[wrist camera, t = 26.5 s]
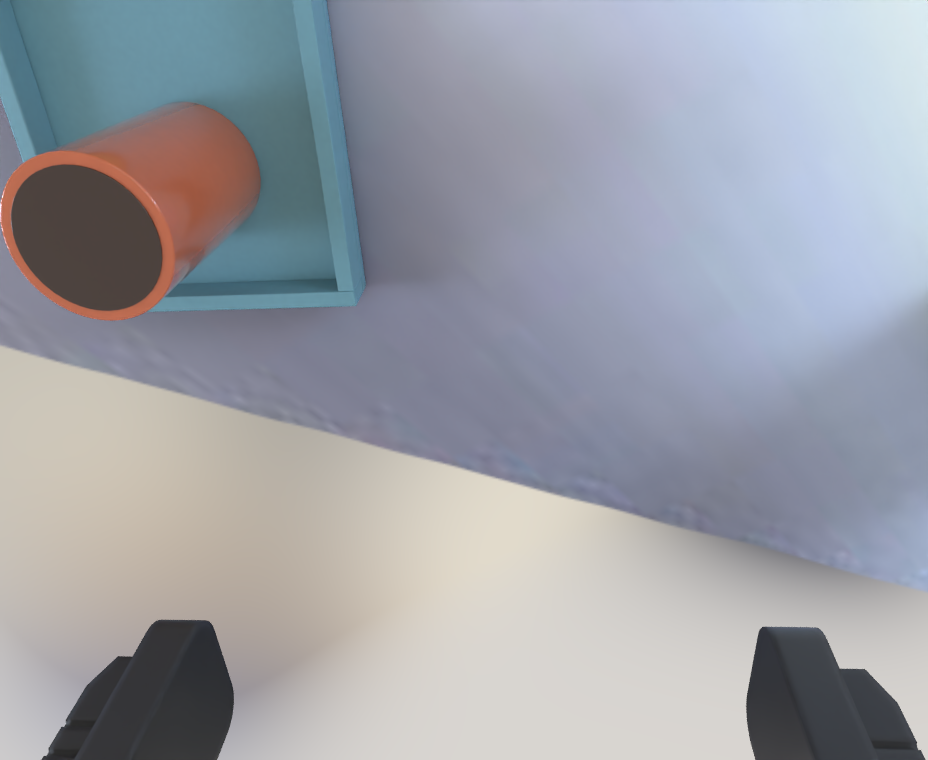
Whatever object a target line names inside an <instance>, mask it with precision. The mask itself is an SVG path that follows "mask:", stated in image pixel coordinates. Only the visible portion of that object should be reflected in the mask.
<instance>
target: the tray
mask: <svg viewBox="0 0 928 760" xmlns="http://www.w3.org/2000/svg"><path fill="white" fill-rule="evenodd" d="M0 97H1V100H2V103H3V106H4V109H5V112H6V115H7V117H8V120H9V123H10V126H11V129H12V132H13V135H14V137H15V140H16V143H17V146H18V149H19V152H20V155H21V157H22V160H23V163H24V162H26V161H27V160H28V159H30V158H32V157H35V156H37V155H39V154H41V153H44V152H46V151H49V150H51V149H54V148H56V147H59V146H61V145H64V144H66V143H69V142H71V141H74V140H76V139H78V138H81V137H83V136H86V135H88V134H91V133H93V132H96V131H98V130H101V129H103V128H106V127H108V126H111V125H113V124H116V123H118V122H121V121H123V120H125V119H128V118H130V117H133V116H135V115H138V114H140V113H143V112H145V111H148V110H150V109H153V108H155V107H158V106H160V105H163V104H167V103H171V102H191V103H197V104H200V105H204V106H206V107H209V108H211V109H213V110H215V111H217V112H219V113H220V114H222V115H223V116H225V117H226V118H227V119H229V120H230V121H231V122H232V123H233V124H234V125H235V126H236V127H237V128H238V129H239V130H240V131H241V132H242V133H243V135H244V136H245V137H246V139H247V140H248V142H249V143H250V145H251V147H252V149H253V151H254V154H255V156H256V159H257V162H258V166H259V170H260V177H261V188H260V195H259V199H258V202H257V205H256V207H255V209H254V211H253V213H252V214H251V216H250V217H249V218H248V219H247V221H246V222H245V223H244V224H243V225H242V226H240V227H239V228H238V229H237V230H236V231H235V232H234V233H233V234H232V235H231V236H230V237H229V238H228V239H227V240H225V241H224V242H223V243H222V244H221V245H220V246H219V247H218V248H217V249H216V250H215V251H214V252H213V253H211V254H210V255H209V256H208V257H207V258H206V259H205V260H204V261H203V262H202V263H201V264H200V265H199V266H198V267H196V268H195V269H194V270H193V271H192V272H191V273H190V274H189V275H188V276H187V277H186V278H185V279H184V280H183V281H181V282H180V283H179V284H178V285H177V286H176V287H175V288H174V289H173V290H172V291H171V292H170V293H169V294H168V295H166V296H165V297H164V298H163V299H162V300H161V301H160V302H159V303H158V304H157V305H155V306H154V307H153V308H152V309H150V310H149V311H147V312H164V311H200V310H235V309H271V308H306V307H342V306H356V305H357V303H358V301H359V299H360V297H361V295H362V293H363V291H364V289H365V287H366V282H365V275H364V268H363V261H362V254H361V246H360V239H359V232H358V225H357V217H356V210H355V203H354V196H353V188H352V181H351V174H350V167H349V160H348V152H347V145H346V138H345V131H344V123H343V116H342V109H341V102H340V94H339V87H338V80H337V73H336V66H335V58H334V51H333V44H332V37H331V29H330V22H329V15H328V8H327V1H326V0H0Z"/></svg>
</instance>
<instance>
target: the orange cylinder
mask: <svg viewBox="0 0 928 760" xmlns="http://www.w3.org/2000/svg"><path fill="white" fill-rule="evenodd" d="M260 188H261V177H260V170H259V166H258V162H257V159H256V156H255V154H254V151H253V149H252V147H251V145H250V143H249V142H248V140H247V139H246V137H245V136H244V135H243V133H242V132H241V131H240V130H239V129H238V128H237V127H236V126H235V125H234V124H233V123H232V122H231V121H230V120H229V119H227V118H226V117H225V116H223V115H222V114H220V113H219V112H217V111H215V110H213V109H211V108H209V107H206V106H204V105H200V104H197V103H191V102H171V103H167V104H163V105H160V106H158V107H155V108H153V109H150V110H148V111H145V112H143V113H140V114H138V115H135V116H133V117H130V118H128V119H125V120H123V121H121V122H118V123H116V124H113V125H111V126H108V127H106V128H103V129H101V130H98V131H96V132H93V133H91V134H88V135H86V136H83V137H81V138H78V139H76V140H74V141H71V142H69V143H66V144H64V145H61V146H59V147H56V148H54V149H51V150H49V151H46V152H44V153H41V154H39V155H37V156H35V157H32V158H30V159H28V160H27V161H26V162H24V163H23V164H21V165H20V166H19V167H18V168H17V169H16V170H15V171H14V172H13V174H12V175H11V177H10V178H9V179H8V181H7V183H6V186H5V188H4V190H3V194H2V198H1V204H0V222H1V228H2V233H3V236H4V240H5V243H6V245H7V248H8V250H9V252H10V254H11V256H12V258H13V260H14V261H15V263H16V265H17V266H18V268H19V269H20V270H21V272H22V273H23V275H24V276H25V277H26V278H27V279H28V280H29V281H30V283H31V284H32V285H33V286H35V287H36V288H37V289H38V290H39V291H40V292H41V293H42V294H44V295H45V296H46V297H47V298H49V299H50V300H52V301H53V302H55V303H56V304H58V305H59V306H61V307H63V308H65V309H67V310H69V311H71V312H74V313H76V314H79V315H81V316H85V317H89V318H93V319H99V320H112V321H113V320H124V319H129V318H133V317H136V316H139V315H141V314H143V313H145V312H147V311H149V310H150V309H152V308H153V307H154V306H155V305H157V304H158V303H159V302H160V301H161V300H162V299H163V298H164V297H165V296H166V295H168V294H169V293H170V292H171V291H172V290H173V289H174V288H175V287H176V286H177V285H178V284H179V283H180V282H181V281H183V280H184V279H185V278H186V277H187V276H188V275H189V274H190V273H191V272H192V271H193V270H194V269H195V268H196V267H198V266H199V265H200V264H201V263H202V262H203V261H204V260H205V259H206V258H207V257H208V256H209V255H210V254H211V253H213V252H214V251H215V250H216V249H217V248H218V247H219V246H220V245H221V244H222V243H223V242H224V241H225V240H227V239H228V238H229V237H230V236H231V235H232V234H233V233H234V232H235V231H236V230H237V229H238V228H239V227H240V226H242V225H243V224H244V223H245V222H246V221H247V219H248V218H249V217H250V216H251V214H252V213H253V211H254V209H255V207H256V205H257V202H258V199H259V195H260Z"/></svg>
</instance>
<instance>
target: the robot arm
mask: <svg viewBox="0 0 928 760" xmlns="http://www.w3.org/2000/svg"><path fill="white" fill-rule="evenodd" d="M746 704H747V706H746V707H747V709H746V710H747V722H748V723H747V724H748V731H749V736H750V741H751V745H752V749H753V752H754V756H755V760H925V758H924V756H923V754H922V752H921V750H918V748H917V742H916V740H915V738H914V736H913V734H912V732H911V729H910V728H909V725H908V723H907V721H906V719H905V717H904V715H903V713H902V711H901V709H900V707H899V705H898V703H897V702H896V701H895V700H894V699H893V698H892V697H891V696H890V695H889V694H888V693H887V692H886V691H885V690H884V688H882V686H880V684H879V683H878V682H877V681H876V680H875V679H874V678H873V677H872V676H871V675H870V674H869V673H868V672H867V671H866V670H865V669H839V666H838V664H837V662H836V659H835V657H834V655H833V653H832V650H831V648H830V646H829V643H828V641H827V639H826V637H825V635H824V634H823V632H822V631H821V630H820V629H819V628H809V627H762V628H761V629H760V631H759V634H758V639H757V644H756V650H755V655H754V660H753V666H752V672H751V677H750V682H749V688H748V693H747V703H746ZM233 705H234V693H233V687H232V683H231V680H230V677H229V674H228V670H227V667H226V664H225V661H224V658H223V655H222V652H221V649H220V646H219V643H218V640H217V636H216V633H215V631H214V628H213V626H212V624H211V623H210V622H209V621H205V620H158V621H156V622H154V623H153V624H152V625H151V626H150V628H149V629H148V631H147V632H146V634H145V636H144V638H143V639H142V641H141V643H140V645H139V646H138V649H137V650H136V652H135V654H134V655H133V657H122V656H121V657H120V656H118V657H117V658H116V659H115V660H114V661H113V662H112V663H110V664H109V665H108V666H107V667H106V668H105V669H104V670H103V671H102V672H101V673H100V674H99V675H98V676H97V677H96V678H94V679H93V680H92V681H91V682H90V683H89V684H88V685H87V687H86V688H85V689H84V691H83V693H82V694H81V696H80V698H79V699H78V701H77V703H76V704H75V706H74V708H73V709H72V711H71V713H70V714H69V716H68V717H67V719H66V725H65V727H61V729H60V731H59V732H58V734H57V735H56V737H55V739H54V740H53V742H52V744H51V745H50V747H49V753H48V755H47V756H44V757H43V758H42V760H217V758H218V756H219V753H220V751H221V748H222V745H223V743H224V741H225V738H226V735H227V733H228V730H229V727H230V723H231V719H232V714H233Z"/></svg>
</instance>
